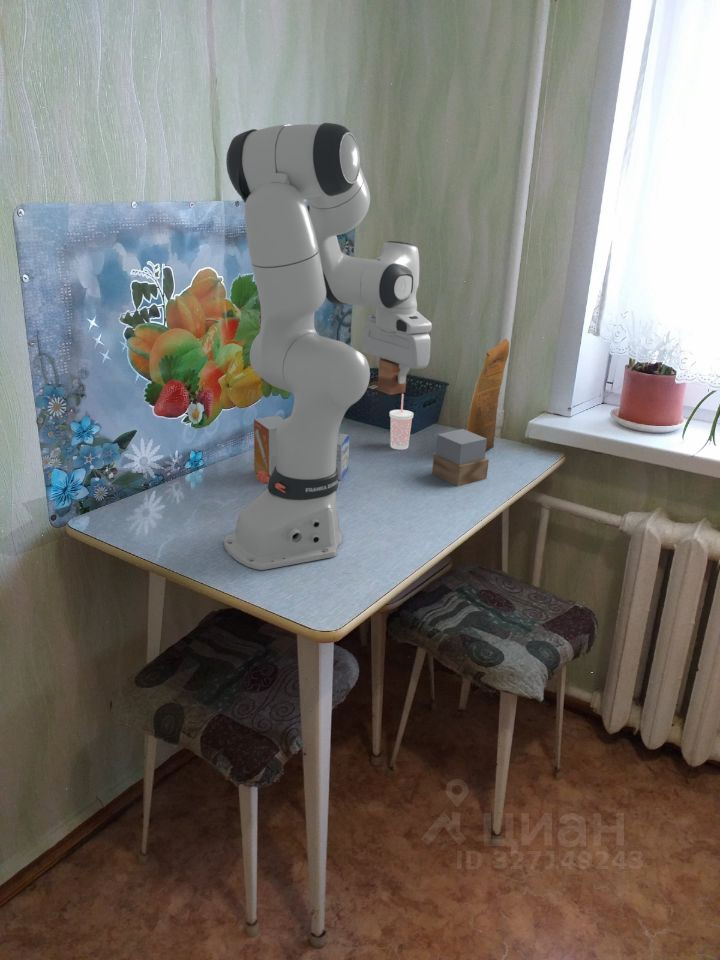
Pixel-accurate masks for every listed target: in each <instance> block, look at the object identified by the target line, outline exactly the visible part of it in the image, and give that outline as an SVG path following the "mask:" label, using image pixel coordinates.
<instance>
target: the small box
mask: <svg viewBox="0 0 720 960" xmlns="http://www.w3.org/2000/svg"><path fill="white" fill-rule="evenodd" d="M283 420H285V419H284V418H283V417H281V416H280V415H273V416H265V417H257V418H254V419H253V436H254V437H253V443H254V444H253V447H254V451H253V452H254V453H253V454H254V455H253V456H254V460H253V462H254V463H253V465H254V468H253V470H254V473H255V474H256V475H257V474H259V473H258V472H259V471H265V472H266V473H268V474H269V475H270V477H271V475H272V472H273V470H274V467H275V466H276V431H277V428H278V426H279V424H280V423H281V422H282V421H283Z"/></svg>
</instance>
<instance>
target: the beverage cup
mask: <svg viewBox="0 0 720 960" xmlns="http://www.w3.org/2000/svg"><path fill="white" fill-rule="evenodd" d="M404 396H405V394H404V393H401V400H400V401H401V402H400V403H401V404H400V409H392V410H390V411H389V417H390V447H391V448H392V449H394V450H407V449H408V448H409V443H410V437H411V436H410V435H411V429H412V421H413V418H414V415H415V414H414V412H413V411H410V410H407V409H406V410H405V409H404V398H405V397H404Z"/></svg>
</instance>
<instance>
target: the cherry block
mask: <svg viewBox="0 0 720 960" xmlns="http://www.w3.org/2000/svg"><path fill="white" fill-rule="evenodd" d="M400 370H401V369H399V364H398V363H395V362H392V361H389V360H386V359H381V360H379V368H378V374H377V391H379V392H382V393H385V394H387V395H390V396H391V395H397V394H404V393H406V388H407V386H406V385H407V379H406V380H405V383H403V384H399V383H397V382H395V379H396V378H395V377H396V375H398V374H399V372H400Z"/></svg>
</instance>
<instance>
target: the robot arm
mask: <svg viewBox="0 0 720 960" xmlns="http://www.w3.org/2000/svg"><path fill="white" fill-rule="evenodd" d="M226 171H227V174H228V178H229V181H230V183H231V185H232V187H233V188H234V190H235V191H236V192H237V194H238V195H239V197H241V199H242V201H243V202H244V204H245V205H244V218H245V219H244V221H245V233H246V240H247V241H246V242H247V248H248V253H249V258H250V262H251V266H252V271H253V276H254V281H255V284H256V288H257V293H258V298H259V305H260V316H261V318H260V329H259V333H258V334H257V335H256V336H255V338H254V339H253V341H252V344H251V347H250V350H249V361H250V363H249V364H250V366H251V368H252V370H253V371H254V373H255V374H256V375H258V376H259V377H260V378H261V379H262V380H264V381H265V382H266V383H268V384H269V385H271V386H272V387H274V388H277V389H280V390H283V391H284V392H285V391H286V392H288V393H291V394H293V397H294V398H293V399H294V401H293V406H292V411H291V414H290V415H289V416H288V417H286V418H285V419H284V420H283V421H282V422H281V423H280V424H279V426H278V428H277V431H276V466H275V467H274V470H273V472H272V475H271V477H270V475H269V474H268V473H266V472H265V471H259V472H258V473H259V474H257V473H256V480H257V481H258V482H261V483H262V484H266V485H267V486H266V487H267V488H266V489H265V490H264V491H262V493H261V494H259V495H258V497H256V498H255V499H254V500H253V501H252V502H250V504H248V506H246V507H245V508H244V509H243V510H241V512H240V513H239V515H238V518H237V522H236V527H235V531H234V532H232V533H230V534H227V535H226V536H224V540H223V547H224V549H225V550H226V552H227V553H228V555H230V557H232V558H233V559H235V561H237V562H239V563H240V564H242V565H243V566H245V567H248V568H251V569H255V570H259V571H264V570H269V569H271V570H272V569H275V568H280V567H286V566H290V565H291V566H292V565H296V564H303V563H307V562H314V561H319V560H324V559H329V558H334V557H336V556H337V553H338V549H337V548H338V547H339V545H341V543H342V542H343V533H342V531H341V526H340V521H339V514H338V506H337V505H338V504H337V491H338V487H339V480H338V468H337V467H336V458H337V442H338V434H339V433H340V427H341V423H342V421H343V420H344V419H343V418H344V416H345V414H346V412H347V411H348V409H349V408H350V407H352V406H353V405H354V404H357V402H359V401H360V400H361V398H362V397H363V396H364V395H365V393H366V392H367V389H368V387H369V383H370V377H371V370H370V365H369V362H368V360H367V358H366V356H365V355H364V354H362V353H361V352H360V351H359V350H357V349H356V348H354V347H352V346H350V345H349V344H347V343H345V342H344V341H340V340H337V339H333V338H330V337H327V336H322V335H319V334H318V332H317V331H316V328H315V314H316V311H318V310H319V309H320V308H321V306H323V304H324V303H325V301H326V299H327V301H328V302H329V303H331V304H333V305H350V306H351V305H352V306H358V307H366V308H375V309H376V311H375V312H374V311H372V312H370V313H369V314H368V315H367V316H366V317H365V323H364V324H363V329H362V334H361V342H360V346H361V347H360V348H361V350H362V352H363V353H366V354H369V355H371V356H374V357H376V359H375V362H376V364H377V368H378V369H379V360H381V359H386V360H389V361H392V362H395V363H398V364H399V369H401V370H400V372H399V374H398V375H396V377H395V378H396V379H395V382H397V383H399V384H403V383H405V380H406V381H407V376H408V374H409V372H410V370H411V369H413V370H420V369H425V368H427V366H429V364H430V359H431V347H432V346H431V343H432V342H431V337H430V336H431V335H429V333H430V332H432V329H433V328H432V326H433V325H432V322H431V321H430V320H428V318H426V317H424V315H423V314H422V313H420V312H419V311H418V303H417V302H418V301H417V292H418V288H419V285H420V253H419V249H418V247H417V246H416V245H415V244H412V243H411V242H403V241H400V240H399V241H398V240H397V241H396V240H389V241H385V242H384V243H383V244H382V247H381V253H380V256H378V257H376V258H375V259H372V258H364V257H363V258H361V257H355V256H351V255H347V253H346V254H345V253H344V252H343V251H341V247H340V243H339V241H338V237H337V236H339V235H345V234H347V233H348V232H350V231H352V230H354V229H355V228H357V226H359V225H360V224H361V223H362V221H363V220H364V219H365V217H366V216H367V213H368V211H369V209H370V204H371V193H370V188H369V184H368V182H367V179H366V178H365V175H364V172H363V170H362V168H361V154H360V147H359V145H358V141H357V139H356V137H355V136H354V134H353V133H352V132H351V131H350V130H349V129H348V128H347V127H346V126H344V125H341V124H338V123H331V122H324V123H319V124H308V123H307V124H290V123H286V124H280V125H273V126H268V127H264V128H261V129H255V128H253V129H249V130H246V131H244V132H241V133H238V134H237V135H236V136H233V138H232V139H231V142H230V144H229V147H228V149H227V152H226ZM306 201H307V203H306Z"/></svg>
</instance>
